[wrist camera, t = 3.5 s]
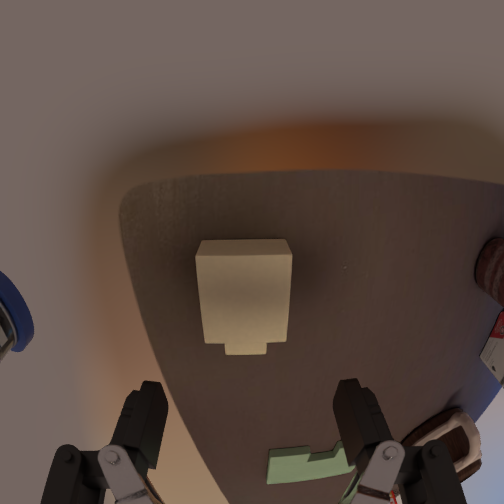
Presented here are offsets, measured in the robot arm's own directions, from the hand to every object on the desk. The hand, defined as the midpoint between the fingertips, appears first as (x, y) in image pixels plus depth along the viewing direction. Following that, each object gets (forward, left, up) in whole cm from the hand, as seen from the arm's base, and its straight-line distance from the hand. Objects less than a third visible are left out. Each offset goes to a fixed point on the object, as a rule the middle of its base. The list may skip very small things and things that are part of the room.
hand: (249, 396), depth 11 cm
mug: (+35, -33, -11) cm, 49 cm away
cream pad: (0, -1, -11) cm, 11 cm away
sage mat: (+11, -35, -11) cm, 38 cm away
